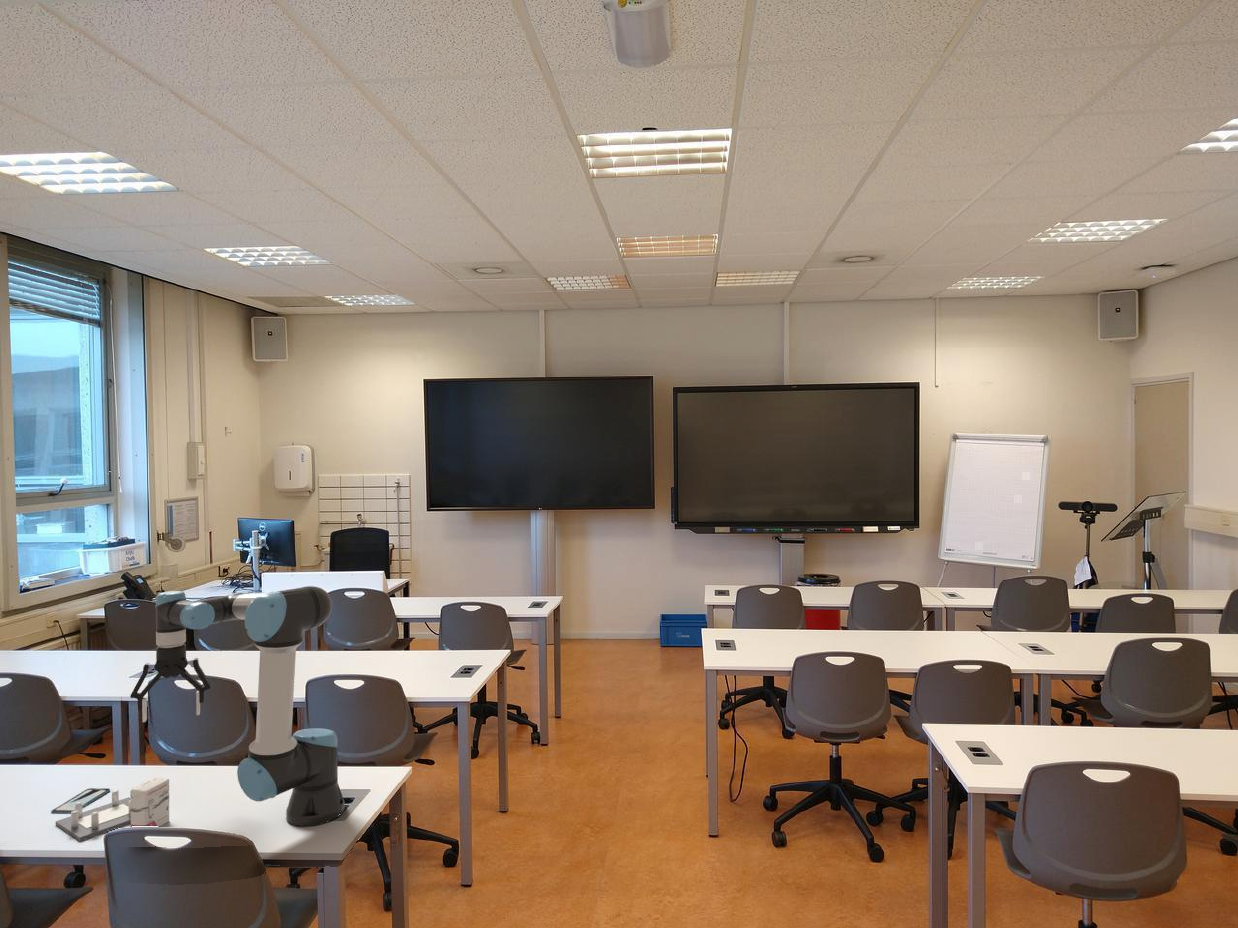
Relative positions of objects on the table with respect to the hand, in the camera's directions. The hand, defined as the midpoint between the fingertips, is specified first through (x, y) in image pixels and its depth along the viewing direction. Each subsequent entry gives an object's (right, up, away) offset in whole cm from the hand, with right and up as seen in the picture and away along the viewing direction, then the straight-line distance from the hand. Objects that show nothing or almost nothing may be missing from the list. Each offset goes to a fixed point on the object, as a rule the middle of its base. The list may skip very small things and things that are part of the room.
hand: (171, 717), depth 222 cm
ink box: (+4, -24, -17) cm, 30 cm away
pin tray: (-11, -24, -13) cm, 29 cm away
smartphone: (-26, -25, -1) cm, 36 cm away
